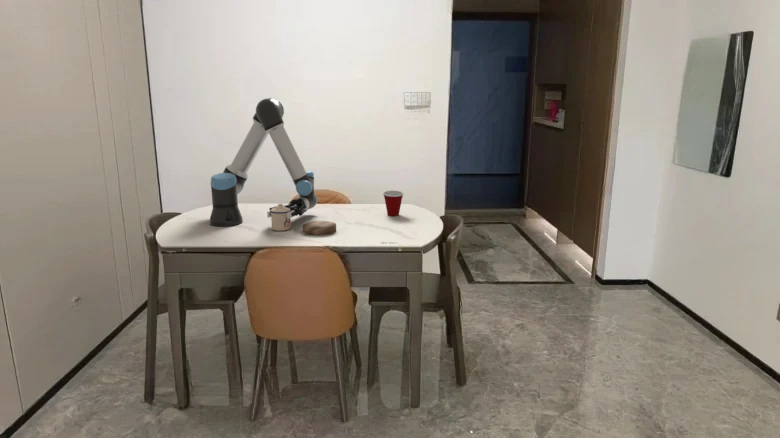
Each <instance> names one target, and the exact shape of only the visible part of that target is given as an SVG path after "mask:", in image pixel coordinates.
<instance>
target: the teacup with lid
mask: <svg viewBox="0 0 780 438" xmlns="http://www.w3.org/2000/svg"><path fill="white" fill-rule="evenodd" d="M276 206H277V207H276ZM276 206H274V207H275V208H273V209H271V217H270V218H271V220H270V221H271V230H273V231H275V232H276V231H277V232H283V231H289V230H290V229H291V227H292V224H291V223H292V221H291V219H292V218H289V219H287V213H288V212H290V211H291V210H290V208H287V207H285V206H284V204H283V203H278V204H277V205H276Z"/></svg>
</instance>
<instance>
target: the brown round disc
mask: <svg viewBox="0 0 780 438" xmlns="http://www.w3.org/2000/svg"><path fill="white" fill-rule="evenodd" d="M302 232H303V234H306V235H308V236H309V235H310V236H328V235H333V234H335V233H336V232H337V224H336V222H334V221H330V220H315V221H308V222H305V223H304V224H303V225H302Z"/></svg>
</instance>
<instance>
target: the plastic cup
mask: <svg viewBox="0 0 780 438" xmlns="http://www.w3.org/2000/svg"><path fill="white" fill-rule="evenodd" d="M404 194H405V192H403V191H400V190H385V191H383V192H382V195H383V198H384V201H385V202H384V203H385V208H386V213H387V216H389V217H398V216H399V215H400V210H401V206H402V200H403V196H404Z"/></svg>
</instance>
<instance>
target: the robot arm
mask: <svg viewBox="0 0 780 438" xmlns="http://www.w3.org/2000/svg"><path fill="white" fill-rule="evenodd" d="M284 113H285V109H284V106H283V104H282V103H281V102H280V100H278V99H276V98H272V97H268V98H264V99H261V100H260V101H259V102H258V103H257V105H256V107H255V113H254V115H253V117H252V122H253V123H252V125H251V127H250V129H249V131H248V132H247V134H246V136H245V139H244V140H243V141H242V144H241V145H240V148H239V149H238V150H237V153H236V155H235V156H234V158H233V161H232V162H231V163H230V164H228V165H226V167H225V168H224V170H223V172H221V173H217V174H216V173H215V174H213V175H212V176H211V177H210V189H211V203H212V208H211V212H210V213H211V214H210V218H209V224H210V225H211V226H214V227H231V226H237V225H241V224H243V223H244V222H243V216H242V213H241V211H240V207H239V203H238V195H239V194H240V192H242V190H243V189H244V187H245V183H246V182H247V180H248V178H249V176H248V171H249V169H250V168H251V166H252V164H253V162H254V161H255V158H256V157H257V156H258V154H259V151H260V150H261V148H262V147H263V144H264V142H265V141H266V139H267V137H268V136H269V137H270V139H271V141H272V142H273V144H274V146H275V148H276V150H277V152H278V154H279V156H280V158H281V160H282V162H283V163H284V165H285V167H286V169H287V172H288V173H289V176H290V177H291V180H292V181H293V184H294V187H295V190H296V193H297V194H298V195H299V197H296V198H294V199H292V200H291V201H289V203H288V204H287V205H286V204H283V206H285V207H287V208H290V210H291V211H290V212H288V213H287V219H289V218H290V219H292V218H294V217H295V216H297V217H298V216H299V217H301V216H303V215H304V213H306V212H307V211H308V210H310V209H312V208H314V207H316V206H317V204H318V197H317V195H316V194H315V175H314V171H311V170H306V169H305V167H304V165H303V164H302V161H301V160H300V157H299V155H298V153H297V151H296V149H295V147H294V144H293V143H292V141H291V139H290V136H289V135H288V133H287V131H286V129H285V127H284V125H285V122H284V120H283V118H284V117H283V116H284ZM277 206H278V205H276V206H273V207H269V210H268V211H267V212H266V217H267V218H271V209H273V208H275V207H277Z"/></svg>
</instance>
